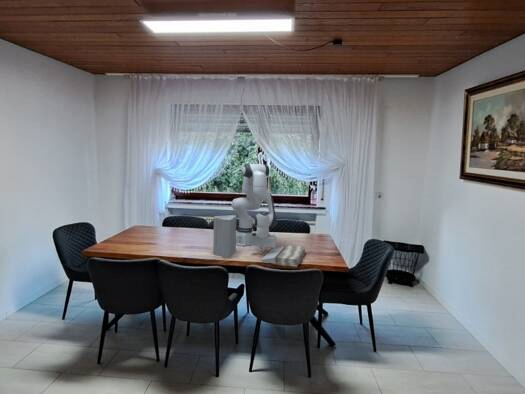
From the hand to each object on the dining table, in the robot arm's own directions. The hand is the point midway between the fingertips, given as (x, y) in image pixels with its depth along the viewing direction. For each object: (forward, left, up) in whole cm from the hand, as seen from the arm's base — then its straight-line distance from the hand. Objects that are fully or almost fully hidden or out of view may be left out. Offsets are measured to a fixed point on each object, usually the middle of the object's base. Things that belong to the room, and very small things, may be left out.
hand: (262, 251), depth 272 cm
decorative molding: (+9, 0, -4) cm, 10 cm away
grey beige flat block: (+23, 0, -3) cm, 23 cm away
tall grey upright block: (-28, -6, -3) cm, 29 cm away
